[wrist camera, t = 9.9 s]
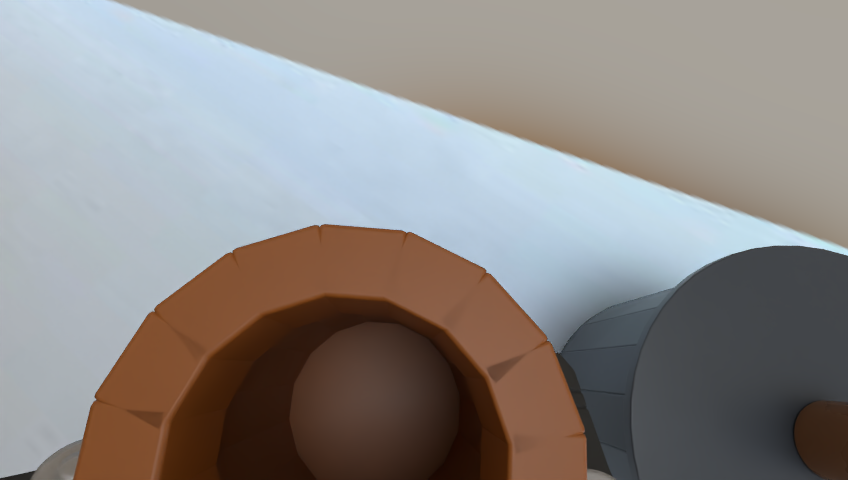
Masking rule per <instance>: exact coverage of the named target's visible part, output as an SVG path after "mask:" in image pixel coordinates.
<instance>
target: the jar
mask: <svg viewBox="0 0 848 480" xmlns="http://www.w3.org/2000/svg"><path fill="white" fill-rule="evenodd" d="M154 310H155V312H153V311H152V312H151V313H149V314H148V315H147V317H146V318H145V320H144V321H143V323H142V324H141V326H140V327H139V329H138V330H137V332H136V333H135V335H134V336H133V338H132V339H131V341H130V342H129V344H128V345H127V347H126V348H125V350H124V351H123V353H122V355H121V356H120V358H119V359H118V361H117V362H116V364H115V365H114V367H113V368H112V370H111V371H110V373H109V374H108V376H107V377H106V379H105V380H104V382H103V383H102V385H101V386H100V388H99V389H98V391H97V392H96V394H95V398H96V399H97V400H96V401H94V402H93V404H92V406H91V408H90V412H89V416H88V420H87V424H86V428H85V433H84V437H83V441H82V445H81V449H80V453H79V457H78V461H77V465H76V469H75V473H74V478H73V480H587V442H586V436H585V434H583V433H584V432H585V429H584V425H583V423H582V420H581V418H580V415H579V413H578V410H577V407H576V405H575V402H574V400H573V397H572V395H571V392H570V390H569V387H568V384H567V382H566V379H565V377H564V374H563V372H562V369H561V367H560V364H559V361H558V359H557V356H556V354H555V351H554V349H553V346H552V344H551V343H550V342H549V341H547V337H546V335H545V334H544V332H543V331H542V330H541V329H540V328H539V327H538V326H537V325H536V324H535V323H534V321H533V320H532V319H531V318H530V317H529V316H528V315H527V314H526V313H525V311H524V310H523V309H522V308H521V307H520V306H519V305H518V304H517V303H516V302H515V300H514V299H513V298H512V297H511V296H510V295H509V294H508V293H507V292H506V290H505V289H504V288H503V287H502V286H501V285H500V284H499V283H498V282H497V281H496V279H495V278H494V277H493V276H492V275H491V274H489V273H486V270H485V269H484V268H482V267H480V266H478V265H476V264H474V263H472V262H470V261H468V260H466V259H464V258H462V257H460V256H458V255H456V254H454V253H452V252H450V251H448V250H446V249H444V248H442V247H440V246H438V245H436V244H434V243H432V242H430V241H428V240H426V239H424V238H422V237H420V236H418V235H416V234H414V233H412V232H408V233H406V232H404V231H402V230H389V229H377V228H365V227H353V226H340V225H328V224H324V225H321V226H320V227H319V226H318V225H314V226H310V227H307V228H303V229H300V230H297V231H293V232H290V233H287V234H283V235H280V236H276V237H273V238H270V239H266V240H263V241H260V242H256V243H253V244H249V245H246V246H243V247H239V248H236V249H235V250H233V253H231V252H230V253H227V254H225V255H224V256H223V257H221V258H220V259H219V260H217V261H216V262H215V263H213V264H212V265H211V266H209V267H208V268H207V269H205V270H204V271H203V272H201V273H200V274H199V275H197V276H196V277H195V278H193V279H192V280H191V281H189V282H188V283H187V284H185V285H184V286H183V287H181V288H180V289H179V290H177V291H176V292H175V293H173V294H172V295H170V296H169V297H168V298H166V299H165V300H164V301H162V302H161V303H160V304H158V305H157V306H156V307H155V309H154Z"/></svg>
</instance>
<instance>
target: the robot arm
mask: <svg viewBox="0 0 848 480" xmlns="http://www.w3.org/2000/svg"><path fill="white" fill-rule="evenodd" d="M555 354H556V356H557V359H558V361H559V364H560V367H561V369H562V372H563V374H564V377H565V379H566V382H567V384H568V387H569V390H570V392H571V395H572V397H573V400H574V402H575V405H576V407H577V410H578V413H579V415H580V418H581V420H582V423H583V425H584V429H585V432H584V433H583V434H585V436H586V442H587V480H617V479H615V478H614V477H613V476H612V474H611V472H610V469H609V467H608V464H607V461H606V458H605V455H604V452H603V450H602V447H601V444H600V441H599V438H598V436H597V433H596V430H595V427H594V424H593V422H592V419H591V416H590V413H589V410H588V409H587V405H586V402H585V399H584V396H583V393H581V388H580V385H579V382H578V379H577V377H576V374H575V371H574V370H573V368H572V367H571V366H570V365H569V364H568V363H567V361H566V360H565V359H564V358H563V357H562V356H561V354H558V353H555ZM82 441H83V439H82V440H79V441H76V442H74V443H72V444H69V445H67V446H65V447H64V448H62V449H60V450H58V451H57V452H56V453H54V454H53V455H51V456H50V457H49V458H48V459H46V460H45V461H44V462H43V463H42V464H41V465H40V466H39V468H38V469H37V470H36V471H32V472H28V473H23V474H18V475H14V476H9V477H4V478H0V480H73V478H74V473H75V469H76V465H77V461H78V457H79V453H80V449H81V445H82Z"/></svg>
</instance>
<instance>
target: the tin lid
mask: <svg viewBox="0 0 848 480" xmlns="http://www.w3.org/2000/svg"><path fill="white" fill-rule="evenodd" d="M623 425H624V435H625V445H626V454H627V458H628V463H629V467H630V472H631V476H632V480H848V256H847V255H843V254H839V253H835V252H832V251H828V250H824V249H817V248H810V247H803V246H770V247H762V248H754V249H750V250H746V251H743V252H739V253H735V254H732V255H729V256H726V257H723V258H721V259H719V260H717V261H714V262H712V263H710V264H707V265H705V266H703V267H702V268H700V269H699V270H697V271H696V272H694V273H692V274H691V275H689V276H688V277H686V278H685V279H684V280H683V281H682V282H680V283H679V284H678V285H677V286H676V287H675V288H673V289H672V290H671V291H670V292H669V293H668V295H667V296H666V297H665V298H664V299H663V300H662V302H661V303H660V304H659V305H658V306H657V307H656V309H655V311H654V312H653V314H652V315H651V317H650V319H649V320H648V322H647V323H646V325H645V326H644V328H643V331H642V333H641V335H640V338H639V340H638V342H637V344H636V347H635V349H634V352H633V356H632V359H631V363H630V366H629V370H628V374H627V381H626V388H625V395H624V424H623Z"/></svg>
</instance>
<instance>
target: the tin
mask: <svg viewBox="0 0 848 480" xmlns="http://www.w3.org/2000/svg"><path fill="white" fill-rule="evenodd" d="M672 289H673V288H672ZM672 289H668V290H665V291H662V292H658V293H655V294H652V295H648V296H645V297H642V298H638V299H635V300H632V301H628V302H625V303H622V304H618V305H615V306H612V307H609V308H607V309H606V310H604V311H602V312H600V313H598V314H597V315H595V316H594V317H592V318H590V319H589V320H588V321H587V322H586V323H584V324H583V325H582V326H581V327H580V328H579V329H578V330H577V331H576V332H575V333H574V334H573V336H572V337H571V338H570V340H569V341H568V343H567V344H566V346H565V347H564V349H563V351H562V353H561V356H562V357H563V358H564V359H565V360H566V361H567V363H568V364H569V365H570V366H571V367H572V368H573V370H574V371H575V374H576V377H577V379H578V382H579V385H580V388H581V393H583V396H584V399H585V402H586V405H587V409H588V410H589V413H590V416H591V419H592V422H593V424H594V427H595V430H596V433H597V436H598V438H599V441H600V444H601V447H602V450H603V452H604V455H605V458H606V461H607V464H608V467H609V469H610V472H611V474H612V476H613V477H614V478H615V479H617V480H632V476H631V472H630V467H629V463H628V458H627V454H626V445H625V435H624V425H623V424H624V395H625V388H626V381H627V374H628V370H629V366H630V363H631V359H632V356H633V352H634V349H635V347H636V344H637V342H638V340H639V338H640V335H641V333H642V331H643V328H644V326H645V325H646V323H647V322H648V320H649V319H650V317H651V315H652V314H653V312H654V311H655V309H656V307H657V306H658V305H659V304H660V303H661V302H662V300H663V299H664V298H665V297H666V296H667V295H668V293H669V292H670V291H671V290H672Z"/></svg>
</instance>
